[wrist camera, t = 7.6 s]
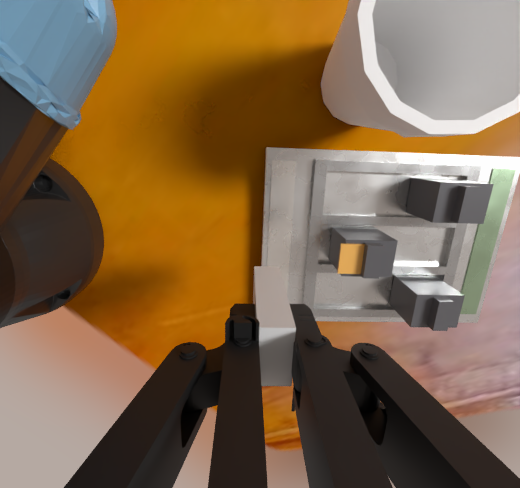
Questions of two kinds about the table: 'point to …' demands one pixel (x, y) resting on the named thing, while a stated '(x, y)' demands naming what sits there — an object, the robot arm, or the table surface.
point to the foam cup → (425, 66)
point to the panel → (376, 226)
